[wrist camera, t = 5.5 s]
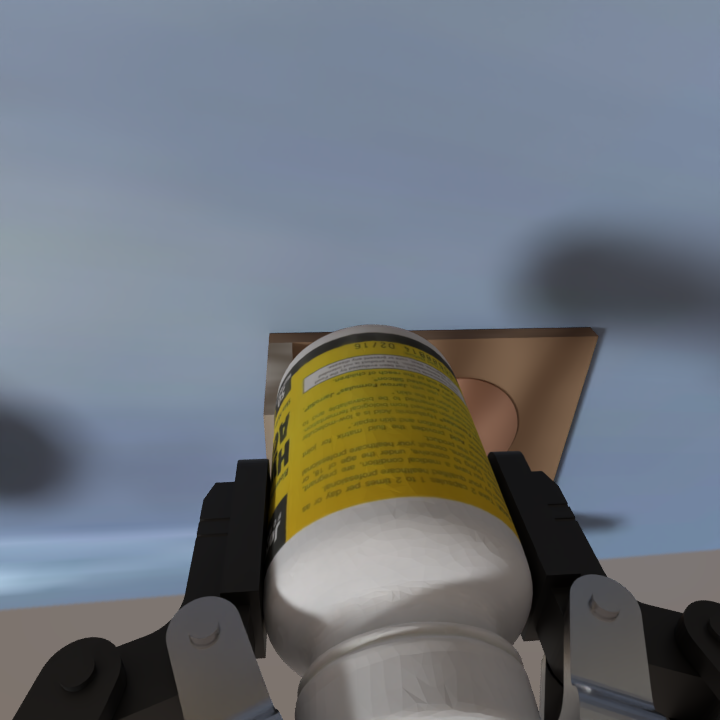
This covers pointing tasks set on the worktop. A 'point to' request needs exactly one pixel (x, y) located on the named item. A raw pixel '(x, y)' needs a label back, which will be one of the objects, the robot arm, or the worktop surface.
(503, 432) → the wooden l-shaped piece
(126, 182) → the worktop surface
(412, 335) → the supplement bottle
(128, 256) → the worktop surface
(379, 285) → the worktop surface
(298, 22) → the worktop surface
